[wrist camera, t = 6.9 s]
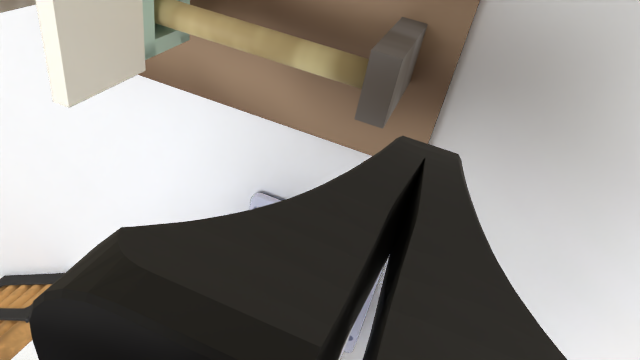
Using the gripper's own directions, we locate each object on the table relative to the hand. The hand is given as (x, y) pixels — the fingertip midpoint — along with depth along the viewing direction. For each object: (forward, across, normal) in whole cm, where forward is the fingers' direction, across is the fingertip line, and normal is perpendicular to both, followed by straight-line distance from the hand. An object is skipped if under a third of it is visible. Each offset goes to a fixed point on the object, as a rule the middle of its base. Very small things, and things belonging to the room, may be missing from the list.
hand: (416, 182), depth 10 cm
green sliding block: (+7, +12, 0) cm, 14 cm away
